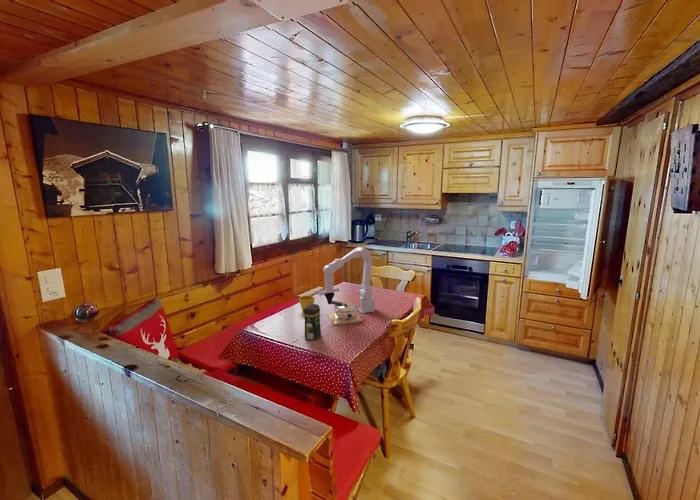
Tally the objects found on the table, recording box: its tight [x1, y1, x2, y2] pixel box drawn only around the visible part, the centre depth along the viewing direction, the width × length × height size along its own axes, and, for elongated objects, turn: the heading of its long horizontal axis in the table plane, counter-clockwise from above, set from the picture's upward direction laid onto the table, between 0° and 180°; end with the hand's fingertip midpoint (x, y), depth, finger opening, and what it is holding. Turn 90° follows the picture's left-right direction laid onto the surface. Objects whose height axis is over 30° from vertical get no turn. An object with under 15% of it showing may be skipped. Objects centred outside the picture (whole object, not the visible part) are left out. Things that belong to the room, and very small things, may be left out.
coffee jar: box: [303, 303, 322, 341], centre depth 183 cm, size 10×8×19 cm
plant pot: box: [298, 294, 315, 314], centre depth 224 cm, size 10×10×10 cm
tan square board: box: [326, 308, 363, 326], centre depth 213 cm, size 19×22×6 cm
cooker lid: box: [330, 300, 358, 312], centre depth 213 cm, size 18×15×3 cm
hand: (329, 303), depth 214 cm, fingers closed
